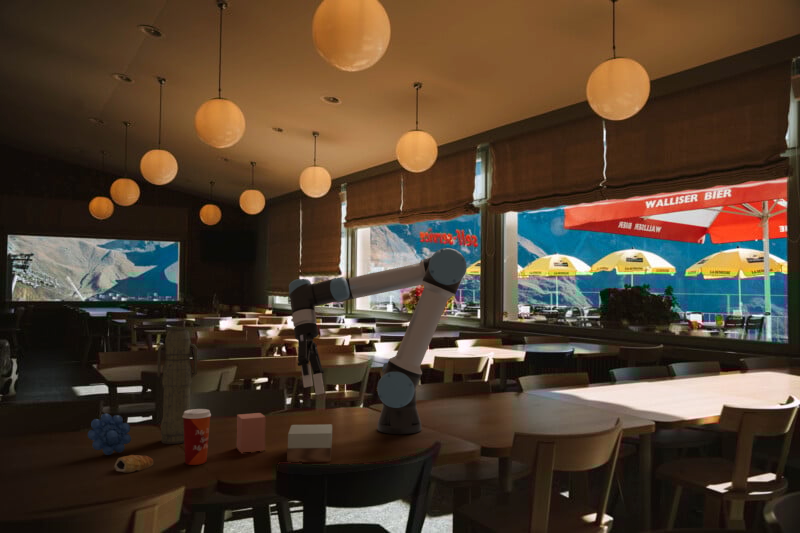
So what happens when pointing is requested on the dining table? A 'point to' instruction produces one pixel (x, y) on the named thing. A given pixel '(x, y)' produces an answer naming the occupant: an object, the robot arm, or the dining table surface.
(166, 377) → the stone statue
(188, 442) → the paper cup
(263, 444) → the salmon pink block
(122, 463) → the pastry
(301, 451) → the tower base
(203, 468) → the dining table surface
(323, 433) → the tower top
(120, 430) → the blue knobbly flower
